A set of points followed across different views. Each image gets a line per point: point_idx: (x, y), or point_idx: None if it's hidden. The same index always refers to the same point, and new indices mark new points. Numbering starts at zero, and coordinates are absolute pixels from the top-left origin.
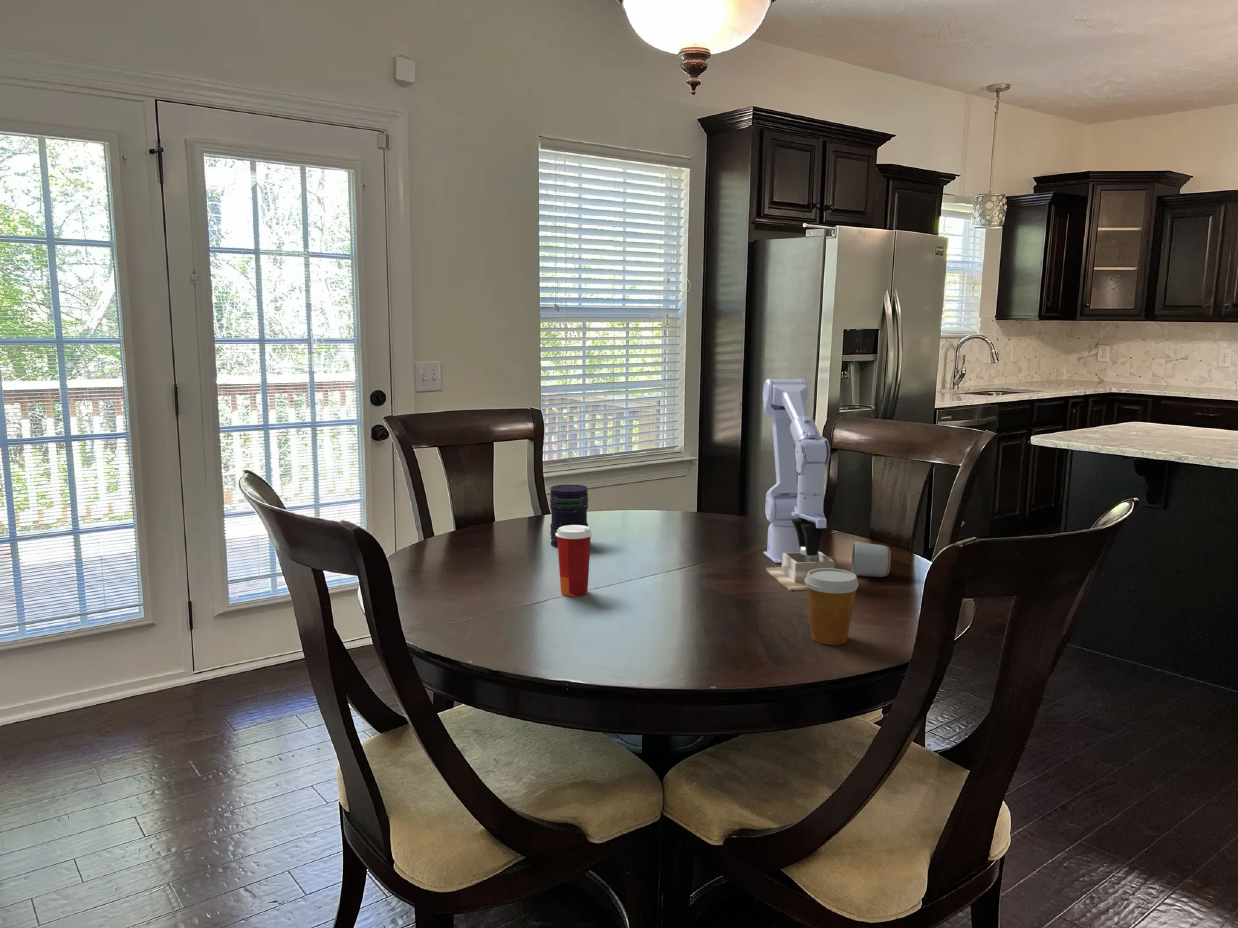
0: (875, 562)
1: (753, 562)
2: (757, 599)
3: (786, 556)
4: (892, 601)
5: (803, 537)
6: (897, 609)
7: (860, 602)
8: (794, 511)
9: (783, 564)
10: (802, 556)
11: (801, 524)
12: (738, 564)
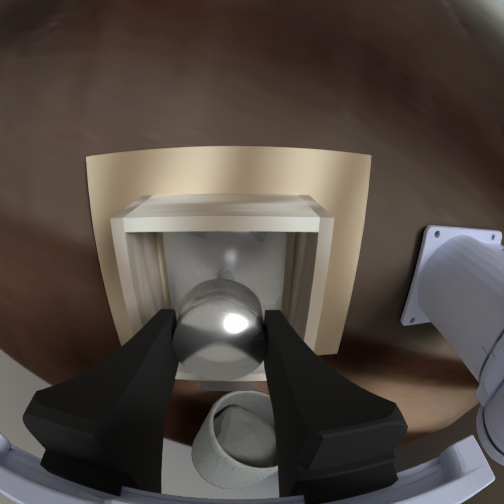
0: (196, 446)
1: (454, 159)
2: (39, 45)
3: (260, 216)
4: (50, 368)
5: (276, 373)
6: (13, 349)
7: (26, 311)
8: (474, 454)
9: (293, 202)
10: (200, 288)
11: (76, 431)
12: (444, 97)
